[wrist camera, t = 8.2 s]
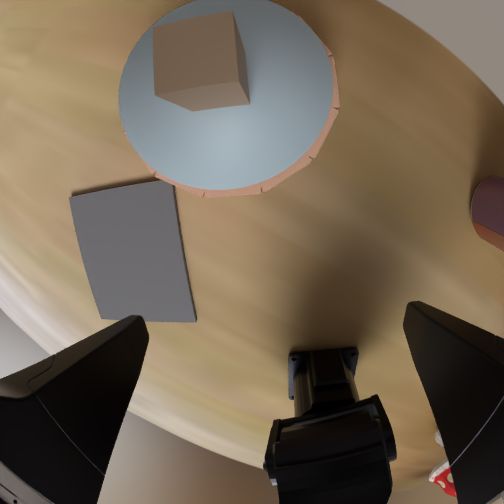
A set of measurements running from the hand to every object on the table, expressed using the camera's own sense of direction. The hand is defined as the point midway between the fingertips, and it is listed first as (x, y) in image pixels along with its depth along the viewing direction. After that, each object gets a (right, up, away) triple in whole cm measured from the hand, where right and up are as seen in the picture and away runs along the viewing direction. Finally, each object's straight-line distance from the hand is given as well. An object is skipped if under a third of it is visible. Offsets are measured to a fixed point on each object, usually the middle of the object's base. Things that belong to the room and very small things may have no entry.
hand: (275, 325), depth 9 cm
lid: (-2, +11, +4) cm, 12 cm away
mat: (-11, +2, +13) cm, 17 cm away
